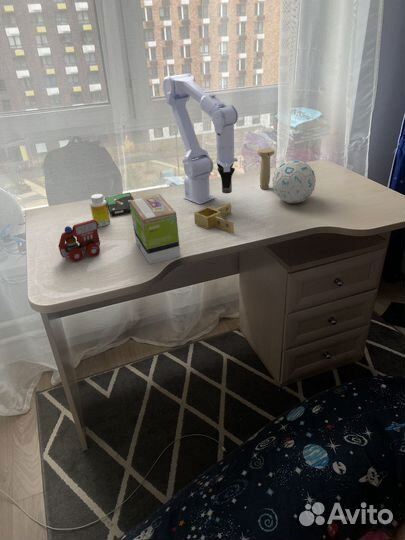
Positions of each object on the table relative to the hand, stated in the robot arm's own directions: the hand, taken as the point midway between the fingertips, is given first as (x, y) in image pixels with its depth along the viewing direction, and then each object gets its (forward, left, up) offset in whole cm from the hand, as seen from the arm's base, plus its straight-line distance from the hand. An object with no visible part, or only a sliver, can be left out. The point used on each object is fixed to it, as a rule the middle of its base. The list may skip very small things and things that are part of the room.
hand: (226, 185), depth 141 cm
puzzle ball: (+13, +22, -10) cm, 27 cm away
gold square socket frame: (+6, -7, -9) cm, 13 cm away
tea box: (+3, -34, -10) cm, 36 cm away
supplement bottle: (-26, -35, -10) cm, 45 cm away
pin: (0, 0, -2) cm, 2 cm away
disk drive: (-33, -22, -10) cm, 41 cm away
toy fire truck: (-12, -51, -10) cm, 54 cm away
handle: (-3, +26, -10) cm, 28 cm away
